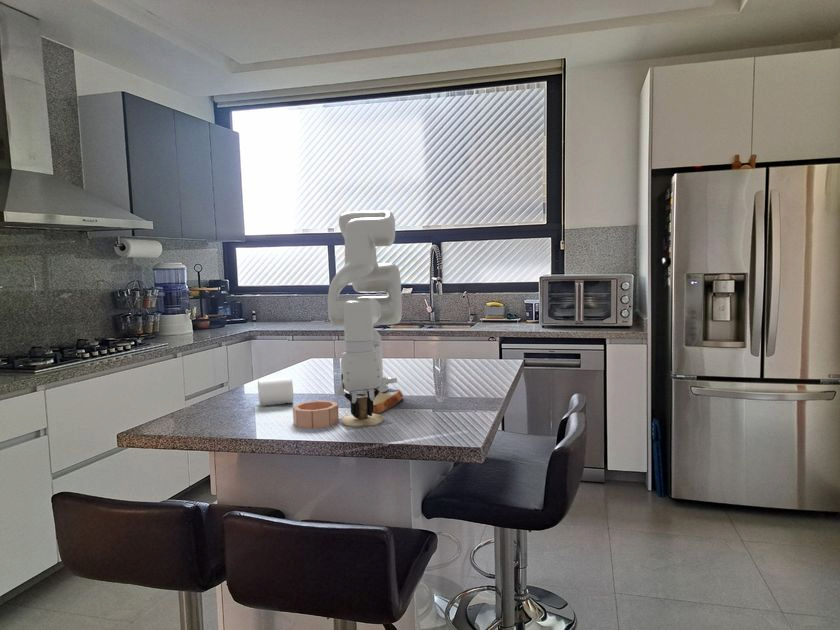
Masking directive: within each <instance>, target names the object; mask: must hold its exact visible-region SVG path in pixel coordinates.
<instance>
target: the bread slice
mask: <svg viewBox="0 0 840 630" xmlns="http://www.w3.org/2000/svg"><path fill="white" fill-rule="evenodd" d="M364 396H365V397H367V395H364ZM403 396H404V394H403V392H402V391H401V390H400V389H398V390H397V392H394V393H392V394H391V393H390V394H388V393H385V392H383V393H381V392H379V394H378V395H377V396H376V397H375V400H374V401H373V412H372V413H374V414H381V413H384V412H385V411H388V410H390V409H391V408H393V407H394V406H396V405H397V404H399V402H401V401H402V398H403Z"/></svg>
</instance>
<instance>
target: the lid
mask: <svg viewBox="0 0 840 630" xmlns="http://www.w3.org/2000/svg"><path fill="white" fill-rule="evenodd" d="M356 400H357V403H358V407H359V417H358V418H355V417H354V416H353V415H352V414H349V415H346V416H344V417H342V424H343V425H345V426H350V427H367V426H373V425H377V424H380V423H382V422H383V418H384V416H383V415H381V414H380V413H378V414H374V413H372V416H369V415H368V409H367V397H365V395H362V396H356ZM373 427H374V426H373ZM367 428H368V427H367Z"/></svg>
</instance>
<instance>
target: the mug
mask: <svg viewBox="0 0 840 630" xmlns="http://www.w3.org/2000/svg"><path fill="white" fill-rule="evenodd" d="M293 385H294V384H293V379H292V377H291V376H290V377H281V378H269V379H259V380H257V391H258V392H257V393H258V394H257V395H258V404H259V407H266V406H265V405H269V406H276V405H275V404H278V405H286V404H285V403H288V404H293V403H294V386H293Z"/></svg>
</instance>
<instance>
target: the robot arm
mask: <svg viewBox="0 0 840 630" xmlns="http://www.w3.org/2000/svg"><path fill="white" fill-rule="evenodd" d="M338 226H339V229H340V232H341V235H342V237H343V239H344V265H343V266H342V268H340V270H338V272H337V273H336V274H335V275H334V276H333V279H332V280H331V282H330V284H329V286H328V287H329V288H328V293H327V294H328V295H327V314H328V315H327V316H328V319H329V322H330V323H331V324H332V325H334V326H339V327H343V330H344V349H345V352H342V353H341V357H340V358H341V359H340V360H341V361H340V368H339V369H340V371H339V372H340V373H339V375H340V376H339V382H340V383H339V385H338V388H337V390H336V394H337V395H339V396H340V397H344V398H345V399H347V400H348V402H349V403H350V415H353V416H354V417H355V418H358V417H359V407H358V403H357V400H356V398H357V397H358V396H357V395H362V396H365V395H367V409H368V415H369V416H372V412H373V401H374V400H375V397H376V396H377V395H378V394H379V392H381V393H386V392H387V391H389V386H388V385H389V384H397V383H398V378H397V376H394V377H391V376H389V377H386V376H384V373H383V371H384V370H383V366H384V365H383V345H382V343H383V342H382V341H383V340H382V337H381V334H380V333H379V332H378V330H376V328H374V326H382V325H383V326H384V325H386V326H387V325H396V324H399V323H400V322H401V320H402V317H403V305H402V304H403V303H402V302H403V301H402V284H401V283H402V282H401V281H402V280H401V273H400V269H399V267H398V266H397V264H394V263H390V262H384V263H383V262H380V263H379V262H378V260H377V248H376V247H390V246H392V245H393V244H394V242H395V239H396V219H395V216H394V214H393V212H392V211H390V210H360V211H359V210H357V211H356V210H355V211H346V212H344V213H341V214H340V215H339V218H338ZM349 284H351V285H352V289H353V290H354V291H355V292H357V293H363V294H368V293H371V294H372V293H386V294H387V295H380V296H379V295H378V296H377V295H373V296H372V295H369V296H358V297H341V298H339V297H340V293H341V291H342V290H343V289H344V288H345V287H347V286H348V285H349Z"/></svg>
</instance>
